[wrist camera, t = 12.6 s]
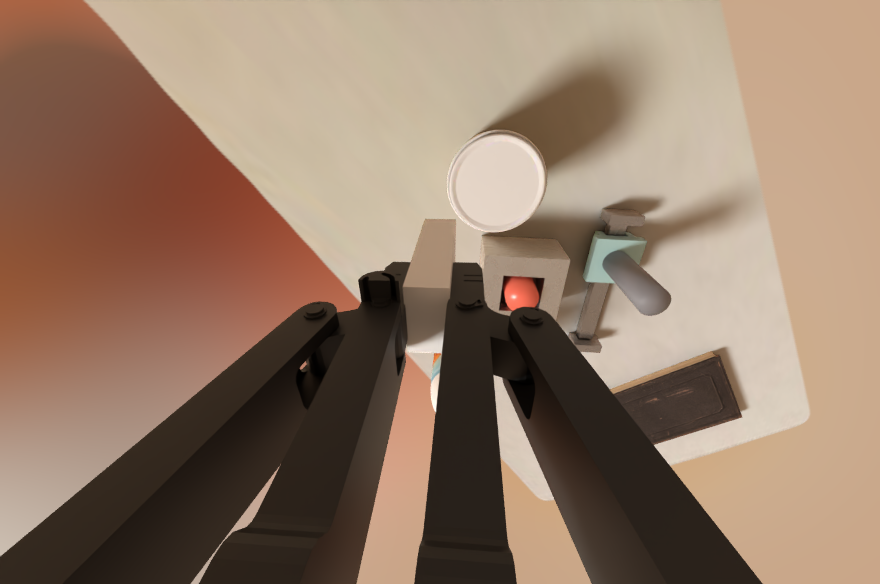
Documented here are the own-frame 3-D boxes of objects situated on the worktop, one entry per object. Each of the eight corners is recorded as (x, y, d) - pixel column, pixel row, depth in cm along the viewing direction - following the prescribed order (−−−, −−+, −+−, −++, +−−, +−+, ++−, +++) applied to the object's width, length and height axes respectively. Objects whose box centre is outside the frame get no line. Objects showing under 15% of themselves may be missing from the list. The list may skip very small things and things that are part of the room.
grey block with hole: (482, 235, 46) (484, 255, 40) (556, 239, 45) (570, 260, 39) (476, 298, 51) (477, 325, 45) (542, 302, 50) (553, 329, 44)
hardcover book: (571, 399, 60) (575, 409, 58) (710, 346, 53) (720, 356, 51) (604, 449, 66) (609, 460, 64) (733, 408, 59) (743, 419, 57)
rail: (602, 208, 43) (611, 215, 40) (634, 210, 43) (645, 216, 40) (567, 338, 53) (572, 351, 51) (593, 340, 53) (599, 352, 50)
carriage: (589, 230, 44) (633, 274, 33) (635, 232, 44) (696, 277, 33) (578, 271, 47) (615, 324, 36) (622, 273, 47) (673, 328, 36)
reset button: (503, 262, 45) (508, 283, 40) (532, 264, 45) (541, 285, 40) (499, 288, 47) (504, 311, 42) (528, 290, 47) (536, 313, 42)
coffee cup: (542, 146, 40) (570, 161, 30) (502, 215, 44) (513, 250, 34) (473, 108, 39) (476, 109, 28) (438, 183, 43) (430, 208, 32)
